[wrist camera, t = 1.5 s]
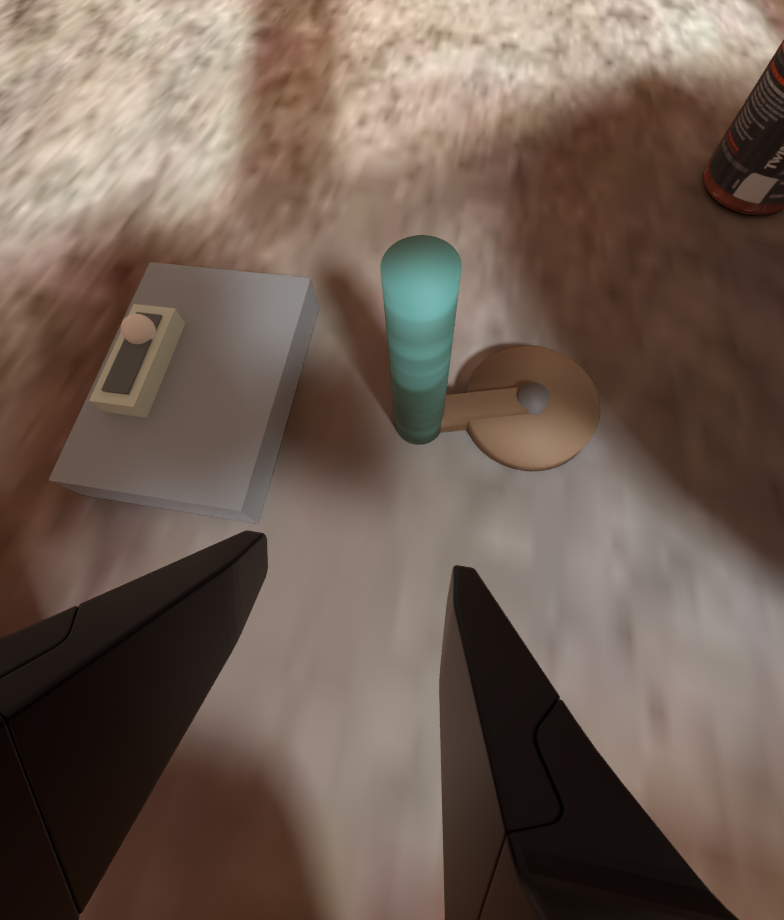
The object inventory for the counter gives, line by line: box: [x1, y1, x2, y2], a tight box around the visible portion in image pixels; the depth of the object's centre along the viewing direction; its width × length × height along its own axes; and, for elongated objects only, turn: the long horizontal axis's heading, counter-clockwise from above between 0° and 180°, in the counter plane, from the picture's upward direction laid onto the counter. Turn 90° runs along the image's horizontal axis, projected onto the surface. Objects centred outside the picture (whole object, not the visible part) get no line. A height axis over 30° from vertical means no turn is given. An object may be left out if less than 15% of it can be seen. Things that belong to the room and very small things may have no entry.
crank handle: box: [381, 235, 600, 471], centre depth 20 cm, size 7×11×12 cm, turn 80°
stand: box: [49, 262, 319, 524], centre depth 25 cm, size 14×10×5 cm
